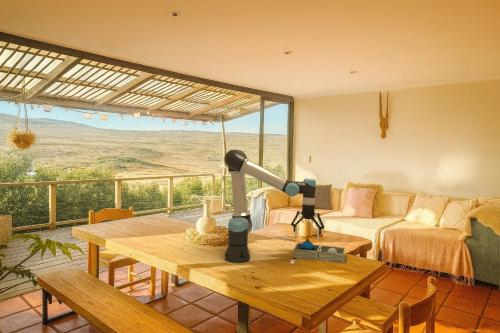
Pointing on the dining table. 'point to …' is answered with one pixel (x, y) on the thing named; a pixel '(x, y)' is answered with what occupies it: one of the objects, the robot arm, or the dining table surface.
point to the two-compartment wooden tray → (320, 253)
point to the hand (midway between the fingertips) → (306, 238)
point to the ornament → (307, 245)
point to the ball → (332, 250)
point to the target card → (293, 261)
